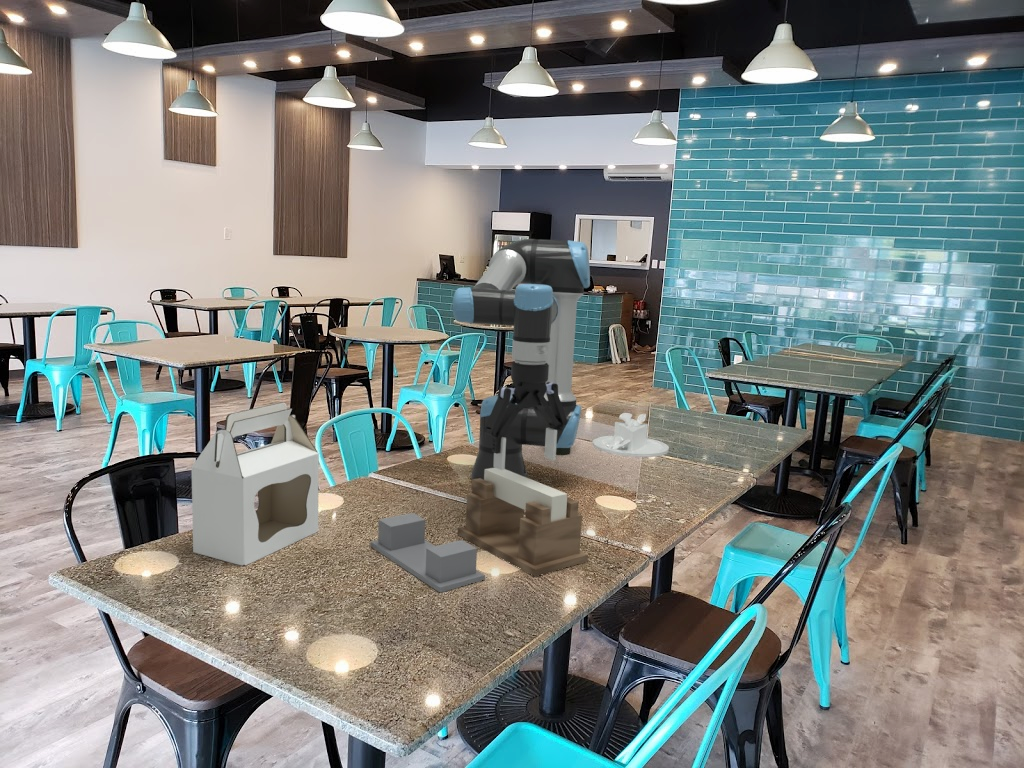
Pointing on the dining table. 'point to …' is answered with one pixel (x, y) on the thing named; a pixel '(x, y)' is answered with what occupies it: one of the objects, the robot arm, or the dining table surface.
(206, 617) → the dining table surface
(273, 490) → the gable box
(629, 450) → the dish
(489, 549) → the notched wooden cradle
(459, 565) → the stand
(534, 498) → the white rectangular bar
